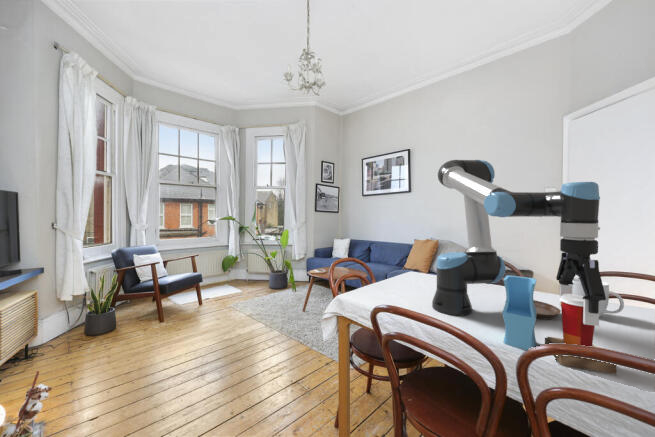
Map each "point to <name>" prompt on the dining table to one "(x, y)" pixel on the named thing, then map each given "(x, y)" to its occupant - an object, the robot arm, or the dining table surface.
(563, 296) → the paper cup
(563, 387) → the dining table surface
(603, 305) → the mug
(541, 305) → the plant saucer
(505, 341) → the vase
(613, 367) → the base
